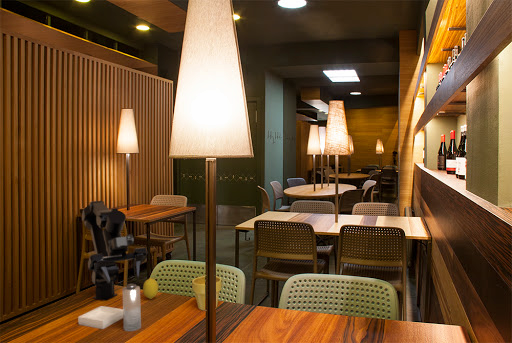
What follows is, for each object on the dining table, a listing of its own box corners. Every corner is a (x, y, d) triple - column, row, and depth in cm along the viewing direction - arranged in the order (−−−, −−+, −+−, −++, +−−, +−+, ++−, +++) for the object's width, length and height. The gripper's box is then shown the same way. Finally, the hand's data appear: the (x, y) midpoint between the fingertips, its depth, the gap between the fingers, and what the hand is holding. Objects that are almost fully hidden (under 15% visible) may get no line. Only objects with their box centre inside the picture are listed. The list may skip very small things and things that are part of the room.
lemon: (140, 300, 150) (139, 279, 150) (150, 295, 155) (149, 275, 155) (151, 302, 148) (150, 281, 148) (161, 298, 153) (161, 277, 152)
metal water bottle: (131, 323, 130) (129, 281, 129) (144, 325, 128) (143, 283, 127) (120, 329, 125) (118, 286, 125) (133, 332, 123) (132, 288, 123)
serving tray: (101, 313, 139) (101, 305, 139) (124, 316, 135) (124, 309, 135) (78, 324, 130) (78, 316, 129) (103, 329, 126) (102, 321, 126)
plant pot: (186, 310, 140) (185, 282, 140) (203, 300, 150) (203, 274, 149) (211, 314, 136) (211, 286, 135) (227, 304, 145) (227, 277, 144)
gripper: (88, 230, 131) (97, 272, 122) (145, 224, 141) (157, 262, 132) (84, 250, 138) (92, 290, 129) (138, 242, 148) (149, 279, 139)
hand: (124, 280), depth 132 cm, fingers open, 9 cm apart
